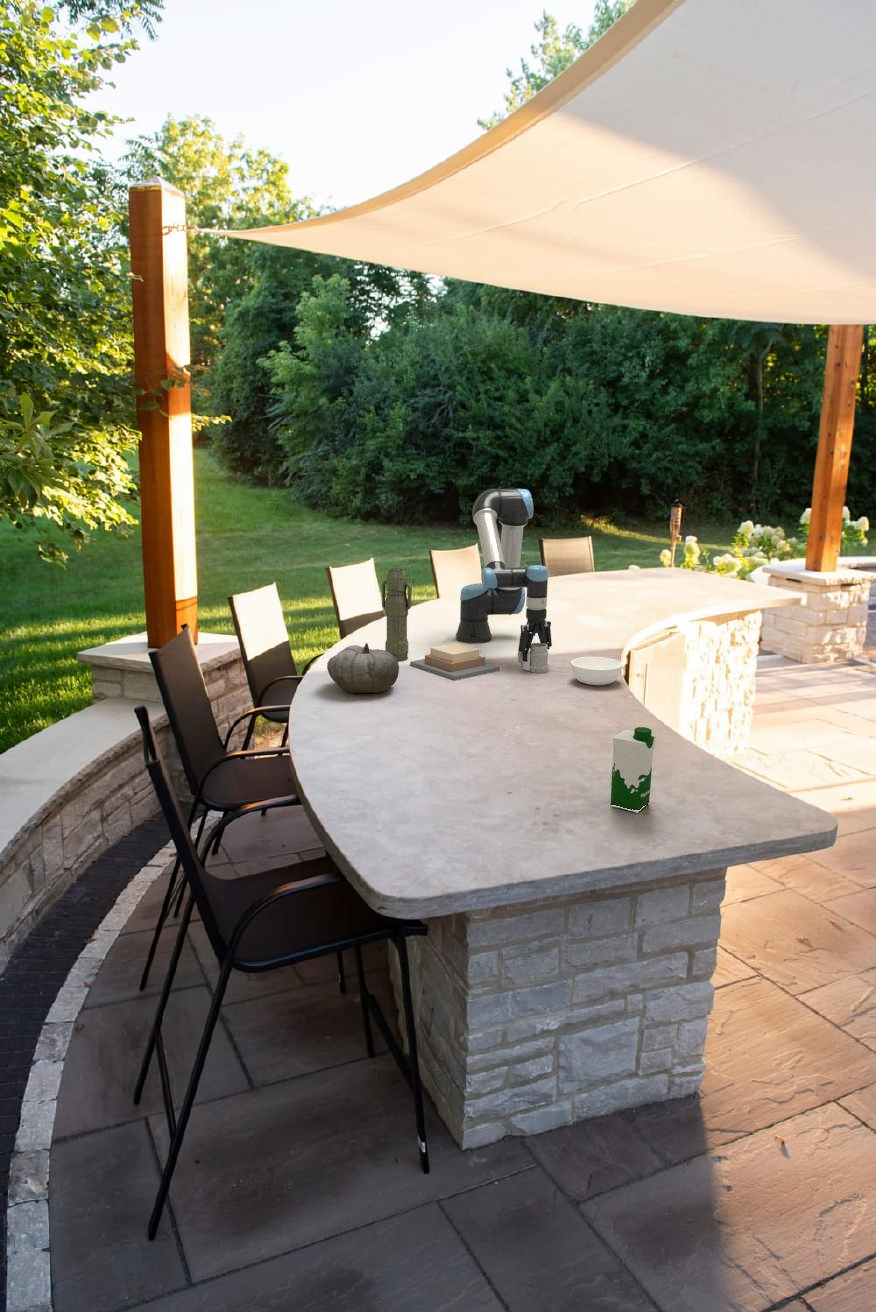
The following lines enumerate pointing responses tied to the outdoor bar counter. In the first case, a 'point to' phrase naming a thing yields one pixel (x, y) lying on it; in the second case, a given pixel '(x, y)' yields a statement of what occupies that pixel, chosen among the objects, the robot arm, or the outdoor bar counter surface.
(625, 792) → the milk carton
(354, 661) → the gourd
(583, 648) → the outdoor bar counter surface
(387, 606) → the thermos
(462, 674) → the plinth board
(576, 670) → the bowl
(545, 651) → the mug
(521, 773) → the outdoor bar counter surface
